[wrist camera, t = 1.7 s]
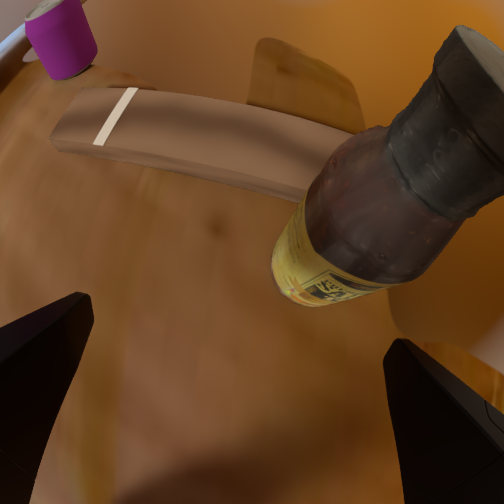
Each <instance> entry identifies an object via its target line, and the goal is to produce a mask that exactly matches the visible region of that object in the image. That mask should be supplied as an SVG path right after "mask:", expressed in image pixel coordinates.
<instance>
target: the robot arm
mask: <svg viewBox="0 0 504 504" xmlns="http://www.w3.org/2000/svg"><path fill="white" fill-rule="evenodd" d="M93 323H94V314H93V309H92V303H91V298H90V296H89V295H88V294H86V293H82V292H75V293H72V294H70V295H68V296H66V297H64V298H61V299H59V300H57V301H55V302H53V303H51V304H49V305H46V306H44V307H42V308H40V309H38V310H36V311H34V312H32V313H30V314H27V315H25V316H23V317H21V318H19V319H17V320H15V321H13V322H11V323H9V324H7V325H5V326H3V327H1V328H0V504H29V502H30V498H31V494H32V490H33V487H34V483H35V479H36V476H37V472H38V469H39V466H40V463H41V459H42V456H43V453H44V450H45V447H46V445H47V442H48V439H49V436H50V433H51V431H52V428H53V425H54V423H55V420H56V418H57V415H58V413H59V410H60V408H61V405H62V403H63V400H64V398H65V396H66V393H67V391H68V389H69V386H70V384H71V382H72V380H73V377H74V375H75V373H76V370H77V368H78V366H79V363H80V360H81V357H82V354H83V351H84V349H85V346H86V343H87V340H88V337H89V335H90V332H91V329H92V327H93ZM383 368H384V375H385V383H386V390H387V399H388V406H389V411H390V416H391V421H392V425H393V431H394V436H395V441H396V447H397V452H398V458H399V465H400V471H401V478H402V486H403V494H404V503H405V504H504V414H502V413H501V412H500V411H499V410H497V409H496V408H495V407H493V406H492V405H491V404H490V403H489V402H487V401H486V400H484V399H483V398H482V397H481V396H480V395H479V394H477V393H476V392H475V391H474V390H472V389H471V388H470V387H469V386H467V385H466V384H465V383H464V382H462V381H461V380H460V379H459V378H457V377H456V376H455V375H454V374H452V373H451V372H450V371H449V370H447V369H446V368H445V367H443V366H442V365H441V364H440V363H438V362H437V361H436V360H435V359H433V358H432V357H431V356H429V355H428V354H427V353H426V352H424V351H423V350H422V349H420V348H419V347H418V346H416V345H415V344H414V343H413V342H411V341H410V340H409V339H406V338H397V339H395V340H394V341H393V343H392V345H391V346H390V348H389V350H388V351H387V353H386V355H385V357H384V359H383Z"/></svg>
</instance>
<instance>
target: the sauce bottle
mask: <svg viewBox="0 0 504 504" xmlns="http://www.w3.org/2000/svg"><path fill="white" fill-rule="evenodd" d="M503 195H504V52H503V51H502V50H501V49H500V48H499V47H498V46H497V45H495V44H494V43H493V42H492V41H490V40H488V39H487V38H486V37H485V36H483V35H482V34H480V33H479V32H477V31H475V30H473V29H471V28H468V27H466V26H464V25H458V26H456V27H455V28H454V29H453V31H452V32H451V33H450V35H449V36H448V38H447V39H446V40H445V41H444V42H443V45H442V46H441V48H440V49H439V51H438V52H437V53H436V55H435V57H434V63H433V70H432V73H431V75H430V76H429V78H428V79H427V80H426V81H425V82H424V83H423V85H422V87H421V88H420V90H419V92H418V93H417V94H416V96H415V97H414V98H413V99H412V100H411V102H410V103H409V105H408V106H407V107H406V108H405V109H404V110H402V111H401V112H400V113H398V114H397V115H396V117H395V118H394V119H393V121H392V123H391V125H389V126H387V127H383V126H379V125H378V126H375V127H373V128H368V129H367V130H365V131H362V132H360V133H357V134H356V135H354V136H353V137H350V138H348V139H347V140H346V141H345V142H344V143H342V144H341V145H339V146H338V148H337V149H336V150H335V151H334V152H333V153H332V155H331V156H330V157H329V158H328V160H327V162H326V164H325V166H324V167H323V169H322V171H321V172H320V173H319V174H318V175H317V176H316V177H315V179H314V180H313V181H312V183H311V185H310V186H309V188H308V190H307V191H306V193H305V195H304V196H303V198H302V200H301V202H300V203H299V205H298V207H297V209H296V210H295V212H294V214H293V215H292V217H291V219H290V220H289V222H288V224H287V225H286V227H285V229H284V230H283V232H282V234H281V235H280V237H279V238H278V240H277V242H276V244H275V247H274V250H273V254H272V261H271V271H272V278H273V282H274V283H275V285H276V287H277V289H278V290H279V291H280V292H281V293H282V294H283V295H284V296H285V297H286V298H288V299H289V300H290V301H291V302H293V303H297V304H301V305H305V306H310V307H319V306H325V305H329V304H333V303H337V302H341V301H345V300H350V299H353V298H356V297H360V296H363V295H368V294H371V293H374V292H376V291H380V290H384V289H387V288H391V287H395V286H397V285H400V284H403V283H406V282H409V281H412V280H414V279H416V278H418V277H419V276H420V275H422V274H423V273H424V272H425V271H426V270H427V269H428V268H429V266H430V265H431V264H432V263H433V262H434V260H435V259H436V258H437V257H438V255H439V254H440V253H441V252H442V250H443V249H444V247H445V246H446V245H447V244H448V242H449V241H450V240H451V238H452V237H453V236H454V234H455V233H456V232H457V230H458V229H459V228H460V226H461V225H462V223H463V222H464V221H465V220H466V218H470V217H473V216H474V215H475V214H476V213H477V211H478V210H479V209H480V208H482V207H483V206H485V205H487V204H488V203H490V202H492V201H493V200H494V199H496V198H498V197H500V196H503Z"/></svg>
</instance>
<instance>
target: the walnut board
mask: <svg viewBox="0 0 504 504" xmlns="http://www.w3.org/2000/svg"><path fill="white" fill-rule="evenodd" d="M353 136H354V135H353V134H350V133H347V132H344V131H341V130H338V129H335V128H332V127H329V126H326V125H323V124H320V123H316V122H313V121H310V120H306V119H303V118H299V117H296V116H292V115H288V114H284V113H281V112H277V111H273V110H268V109H264V108H260V107H255V106H251V105H246V104H241V103H236V102H231V101H226V100H220V99H215V98H209V97H203V96H196V95H188V94H181V93H173V92H164V91H154V90H141V89H138V88H128V89H125V88H81V90H80V91H79V93H78V94H77V95H76V97H75V98H74V99H73V101H72V102H71V104H70V105H69V107H68V108H67V110H66V111H65V113H64V114H63V116H62V117H61V119H60V120H59V122H58V123H57V125H56V127H55V128H54V130H53V131H52V133H51V135H50V136H49V138H48V139H49V140H50V141H51V143H52V144H53V145H54V146H55V147H56V148H57V150H58V151H61V152H68V153H75V154H81V155H87V156H94V157H99V158H105V159H111V160H117V161H122V162H127V163H133V164H138V165H143V166H148V167H153V168H158V169H163V170H167V171H172V172H177V173H181V174H186V175H190V176H195V177H199V178H203V179H207V180H212V181H216V182H220V183H224V184H228V185H232V186H236V187H240V188H244V189H248V190H252V191H255V192H259V193H263V194H267V195H270V196H274V197H278V198H281V199H285V200H288V201H292V202H295V203H300V202H301V200H302V198H303V196H304V195H305V193H306V191H307V190H308V188H309V186H310V185H311V183H312V181H313V180H314V179H315V177H316V176H317V175H318V174H319V173H320V172H321V171H322V169H323V167H324V166H325V164H326V162H327V160H328V158H329V157H330V156H331V155H332V153H333V152H334V151H335V150H336V149H337V148H338V146H339V145H341V144H342V143H344V142H345V141H346V140H347V139H348V138H350V137H353Z"/></svg>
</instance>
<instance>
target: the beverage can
mask: <svg viewBox="0 0 504 504" xmlns="http://www.w3.org/2000/svg"><path fill="white" fill-rule="evenodd" d="M25 33H26V35H27V37H28V39H29V41H30V43H31V44H32V46H33V48H34V50H35V52H36V53H37V55H38V57H39V59H40V60H41V62H42V64H43V65H44V67H45V69H46V71H47V72H48V74H49V76H50V77H51V78H52V79H54V80H66V79H69V78H72V77H74V76H76V75H78V74H79V73H81V72H82V71H84V70H85V69H86V68H87V67H88V66H89V65H90V64H91V63H92V62H93V60H94V58H95V56H96V54H97V45H96V42H95V40H94V37H93V35H92V32H91V29H90V27H89V24H88V22H87V19H86V16H85V13H84V11H83V8H82V5H81V2H80V0H44V1H43V2H41V3H39V4H38V5H37V6H35V7H34V8H33V9H32V10H31V11H30V12H28V14H27V15H26V16H25Z"/></svg>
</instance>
